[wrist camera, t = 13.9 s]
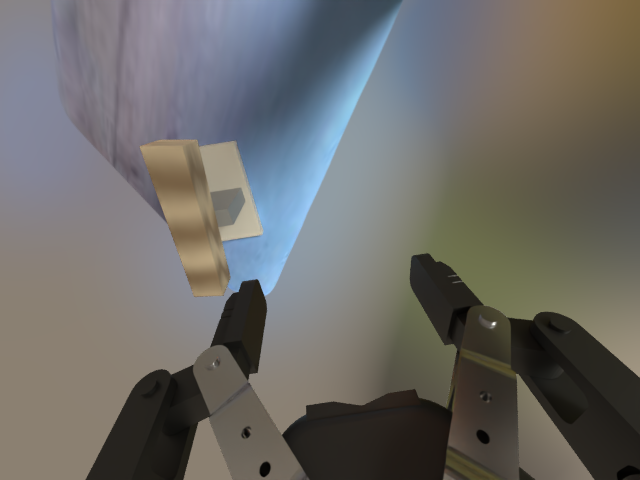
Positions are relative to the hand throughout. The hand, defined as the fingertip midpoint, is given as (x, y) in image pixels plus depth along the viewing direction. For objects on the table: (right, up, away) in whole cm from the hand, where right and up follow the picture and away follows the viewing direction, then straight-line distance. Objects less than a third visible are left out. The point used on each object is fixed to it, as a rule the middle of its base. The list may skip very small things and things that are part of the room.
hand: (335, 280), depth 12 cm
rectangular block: (-17, +5, +19) cm, 26 cm away
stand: (-17, +10, +28) cm, 34 cm away
